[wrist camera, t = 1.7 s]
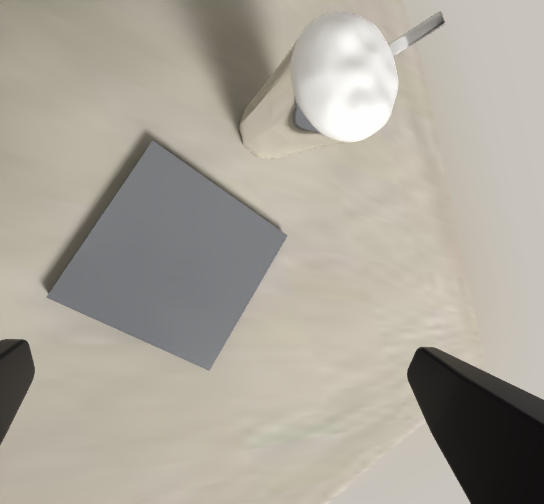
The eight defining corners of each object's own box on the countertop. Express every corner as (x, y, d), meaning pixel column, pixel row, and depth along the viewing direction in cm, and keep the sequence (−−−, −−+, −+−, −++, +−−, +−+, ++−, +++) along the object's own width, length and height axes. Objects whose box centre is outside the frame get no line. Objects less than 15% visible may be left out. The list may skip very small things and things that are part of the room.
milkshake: (320, 140, 21) (465, 80, 12) (255, 184, 20) (366, 153, 11) (285, 71, 20) (418, -54, 11) (212, 113, 19) (297, 9, 9)
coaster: (207, 366, 20) (209, 370, 19) (49, 294, 16) (46, 297, 16) (283, 235, 21) (287, 235, 20) (151, 142, 18) (152, 140, 17)
